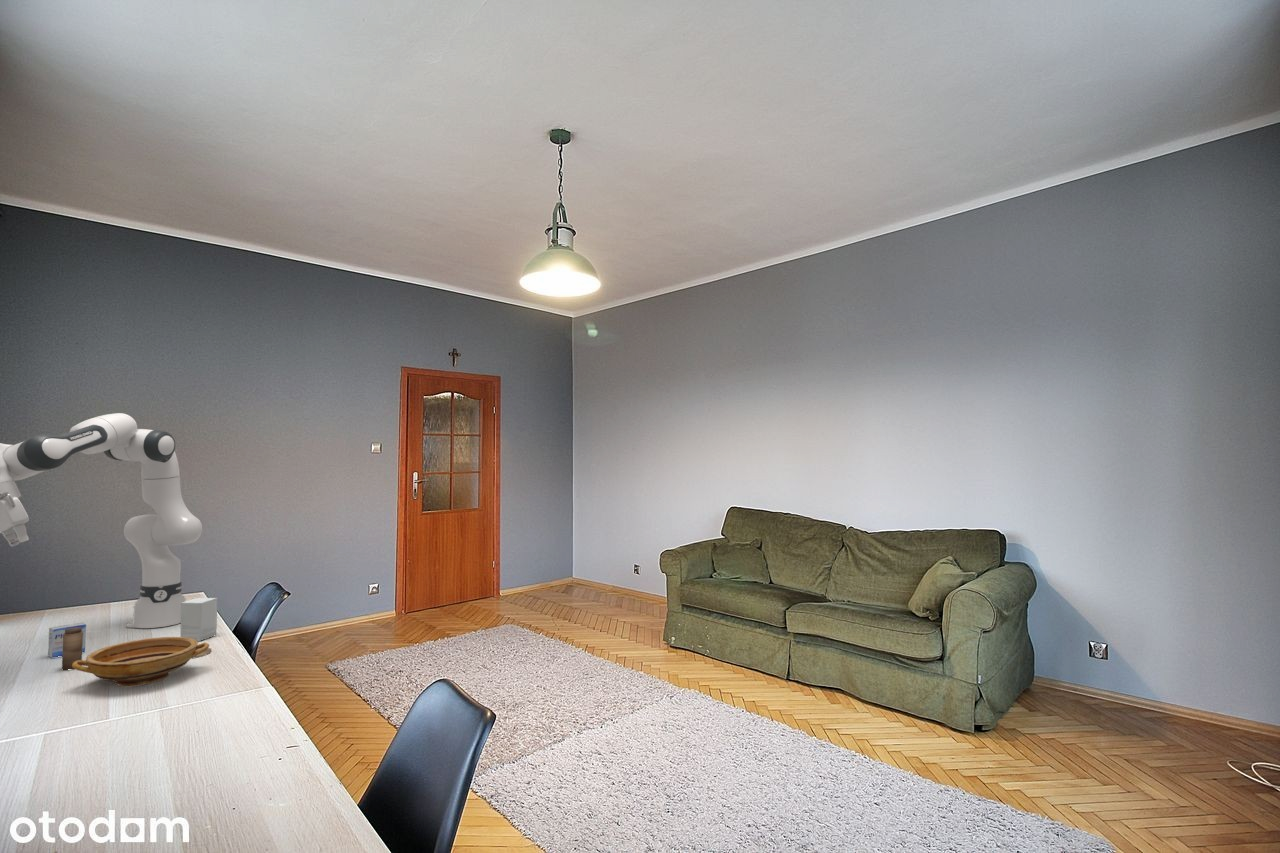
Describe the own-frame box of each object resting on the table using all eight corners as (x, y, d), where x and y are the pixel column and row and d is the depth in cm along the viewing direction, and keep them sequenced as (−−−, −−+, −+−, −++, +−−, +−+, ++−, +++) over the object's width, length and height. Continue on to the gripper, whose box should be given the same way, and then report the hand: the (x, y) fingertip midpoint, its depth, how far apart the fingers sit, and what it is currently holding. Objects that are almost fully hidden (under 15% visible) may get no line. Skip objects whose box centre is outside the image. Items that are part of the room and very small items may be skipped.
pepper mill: (62, 667, 182) (64, 628, 182) (82, 664, 184) (84, 626, 185) (60, 671, 178) (62, 631, 179) (80, 668, 181) (82, 629, 181)
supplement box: (217, 635, 214) (218, 597, 215) (199, 641, 207) (201, 602, 208) (197, 634, 215) (198, 597, 216) (179, 641, 208) (180, 602, 208)
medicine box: (50, 659, 189) (52, 629, 189) (47, 656, 192) (48, 627, 192) (85, 652, 195) (86, 624, 196) (81, 649, 198) (82, 621, 198)
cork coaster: (171, 652, 196) (171, 650, 196) (210, 647, 201) (210, 645, 201) (171, 661, 187) (171, 659, 188) (211, 655, 193) (211, 653, 193)
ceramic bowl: (64, 705, 155) (66, 672, 155) (76, 676, 174) (77, 647, 175) (210, 680, 173) (211, 650, 173) (206, 657, 192) (207, 630, 192)
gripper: (22, 486, 169) (45, 534, 171) (3, 498, 181) (25, 542, 182) (-10, 495, 164) (14, 544, 166) (-27, 506, 175) (-4, 552, 177)
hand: (20, 543), depth 174 cm, fingers open, 8 cm apart
